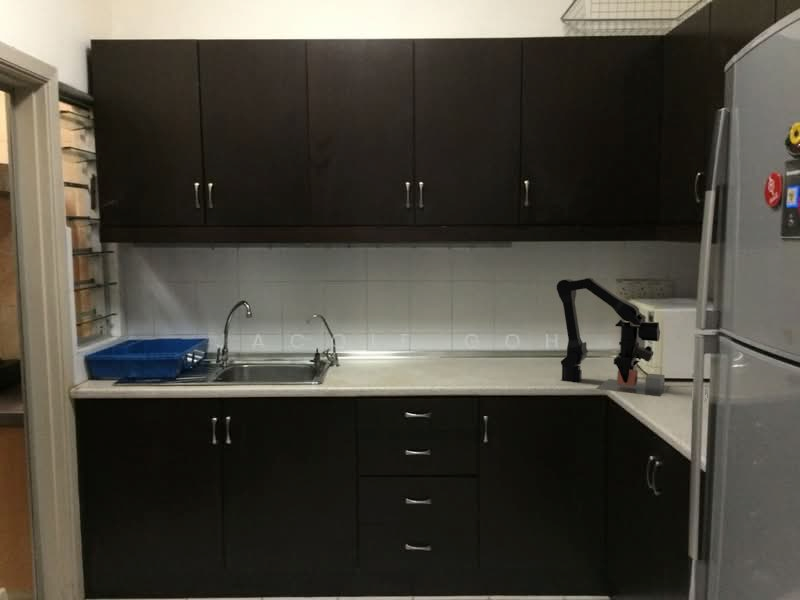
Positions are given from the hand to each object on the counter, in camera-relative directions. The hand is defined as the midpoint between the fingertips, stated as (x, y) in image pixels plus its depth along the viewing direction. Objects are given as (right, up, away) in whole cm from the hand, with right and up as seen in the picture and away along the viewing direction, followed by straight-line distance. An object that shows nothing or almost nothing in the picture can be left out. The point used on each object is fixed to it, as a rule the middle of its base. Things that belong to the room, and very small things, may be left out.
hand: (627, 381), depth 235 cm
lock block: (0, -1, 0) cm, 1 cm away
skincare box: (+7, -1, +18) cm, 20 cm away
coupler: (+2, -3, -1) cm, 3 cm away
